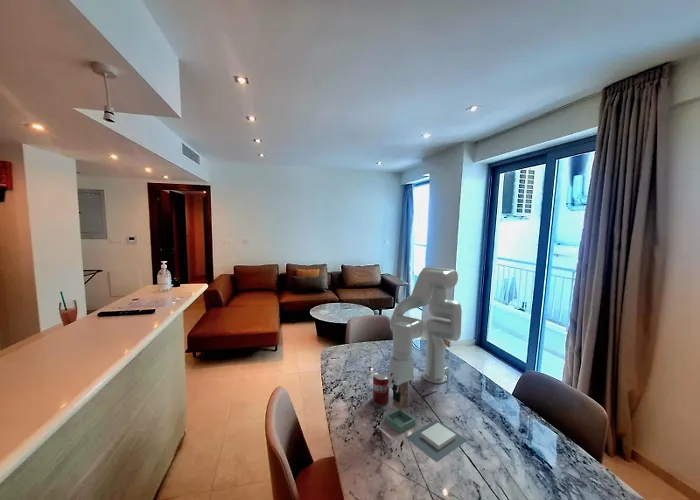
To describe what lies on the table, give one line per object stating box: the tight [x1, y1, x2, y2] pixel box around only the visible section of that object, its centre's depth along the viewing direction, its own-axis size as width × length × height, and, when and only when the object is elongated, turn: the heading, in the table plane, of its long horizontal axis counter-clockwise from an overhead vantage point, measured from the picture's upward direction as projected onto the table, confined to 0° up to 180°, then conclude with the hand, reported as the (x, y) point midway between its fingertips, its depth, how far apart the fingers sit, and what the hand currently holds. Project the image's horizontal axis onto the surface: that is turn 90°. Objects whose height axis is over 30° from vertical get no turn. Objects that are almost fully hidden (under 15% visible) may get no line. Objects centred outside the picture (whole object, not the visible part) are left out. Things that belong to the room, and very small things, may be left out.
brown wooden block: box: [392, 381, 409, 411], centre depth 116 cm, size 4×4×12 cm
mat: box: [405, 419, 468, 463], centre depth 109 cm, size 18×14×1 cm
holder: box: [384, 408, 416, 434], centre depth 117 cm, size 9×9×3 cm
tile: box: [421, 423, 456, 450], centre depth 109 cm, size 2×8×10 cm
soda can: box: [372, 372, 390, 407], centre depth 132 cm, size 7×7×12 cm
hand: (400, 398), depth 116 cm, fingers closed on brown wooden block, 4 cm apart
